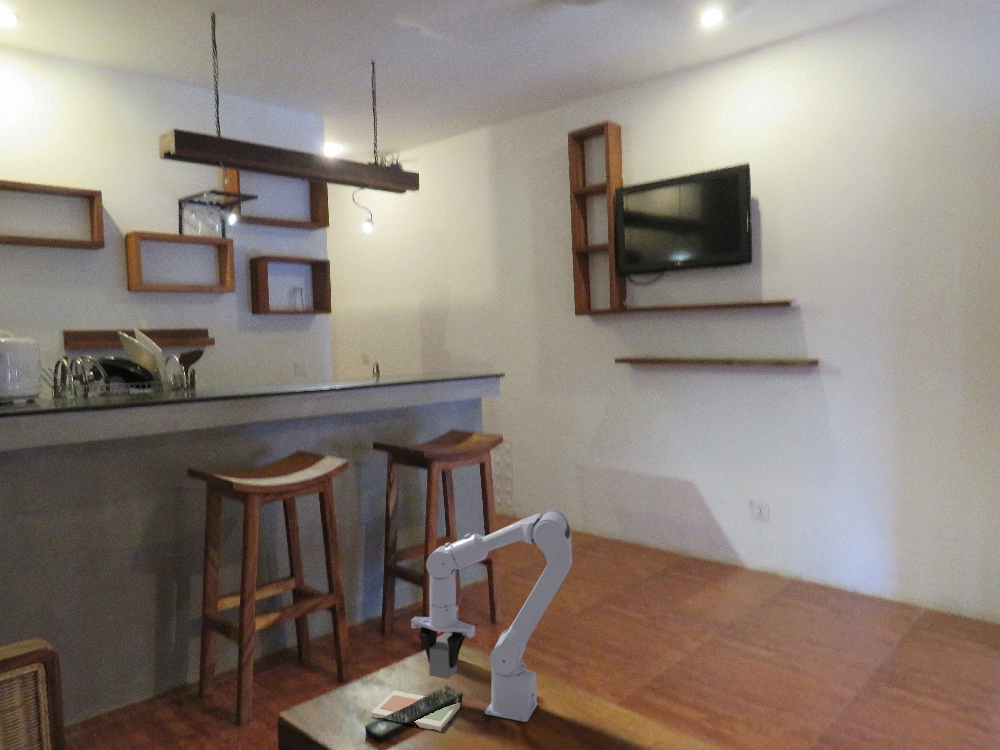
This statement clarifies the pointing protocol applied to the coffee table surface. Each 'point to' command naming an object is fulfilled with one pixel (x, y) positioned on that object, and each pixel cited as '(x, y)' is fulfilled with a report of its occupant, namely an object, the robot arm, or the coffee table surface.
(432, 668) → the block
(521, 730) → the coffee table surface
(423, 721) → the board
